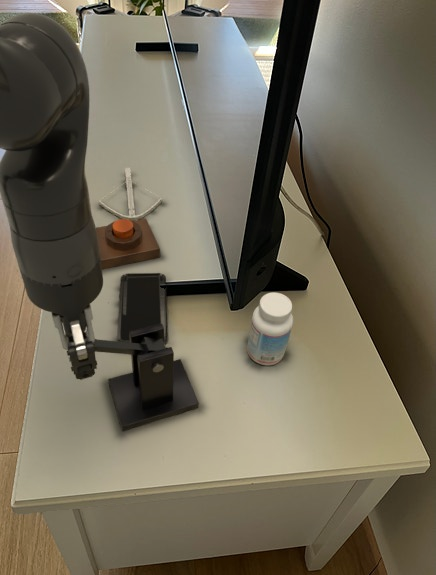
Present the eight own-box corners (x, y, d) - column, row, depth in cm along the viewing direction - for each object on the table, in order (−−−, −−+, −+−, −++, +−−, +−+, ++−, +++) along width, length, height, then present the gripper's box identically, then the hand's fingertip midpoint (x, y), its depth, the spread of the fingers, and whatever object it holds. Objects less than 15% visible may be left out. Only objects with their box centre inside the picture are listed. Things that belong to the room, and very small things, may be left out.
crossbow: (164, 221, 100) (164, 214, 98) (100, 225, 97) (99, 217, 96) (156, 172, 110) (156, 164, 108) (98, 174, 107) (97, 166, 106)
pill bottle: (290, 346, 80) (304, 299, 71) (273, 373, 76) (286, 327, 68) (257, 329, 81) (267, 282, 73) (239, 355, 78) (247, 308, 69)
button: (116, 240, 88) (115, 233, 87) (111, 228, 90) (110, 220, 89) (135, 237, 89) (135, 229, 88) (130, 224, 92) (130, 217, 90)
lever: (73, 365, 56) (81, 352, 55) (66, 335, 59) (74, 322, 58) (161, 370, 64) (170, 358, 62) (151, 343, 66) (159, 332, 65)
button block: (100, 269, 88) (98, 253, 85) (90, 237, 94) (87, 221, 91) (160, 257, 91) (159, 241, 89) (146, 227, 97) (145, 210, 94)
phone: (165, 273, 87) (167, 341, 77) (165, 277, 88) (167, 345, 78) (120, 273, 86) (116, 342, 76) (120, 278, 87) (116, 347, 77)
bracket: (122, 431, 67) (115, 379, 58) (108, 383, 72) (100, 328, 63) (198, 407, 71) (203, 355, 61) (180, 363, 76) (182, 308, 66)
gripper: (8, 214, 50) (40, 321, 63) (27, 317, 41) (59, 418, 54) (83, 202, 52) (99, 307, 65) (116, 297, 44) (127, 398, 56)
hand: (81, 357), depth 59 cm, fingers closed on lever, 4 cm apart
